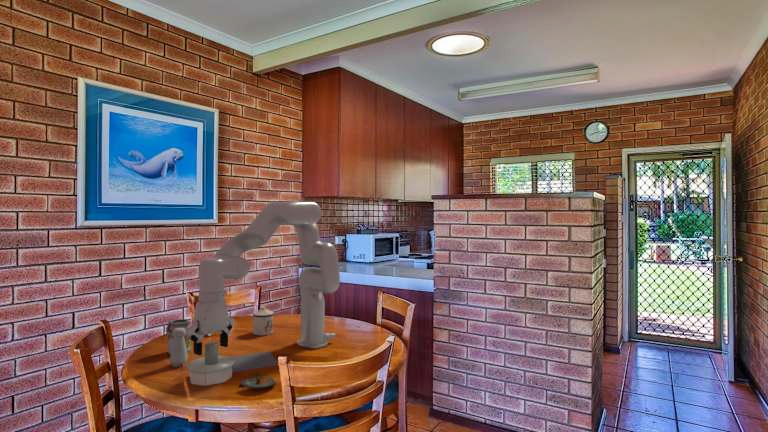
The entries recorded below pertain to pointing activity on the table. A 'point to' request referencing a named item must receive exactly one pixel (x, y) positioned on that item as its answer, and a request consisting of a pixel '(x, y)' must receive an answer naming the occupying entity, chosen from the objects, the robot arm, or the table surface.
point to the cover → (210, 361)
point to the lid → (252, 385)
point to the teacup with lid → (263, 322)
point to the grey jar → (178, 324)
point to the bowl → (210, 377)
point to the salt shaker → (178, 348)
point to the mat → (253, 361)
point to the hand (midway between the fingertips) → (211, 350)
